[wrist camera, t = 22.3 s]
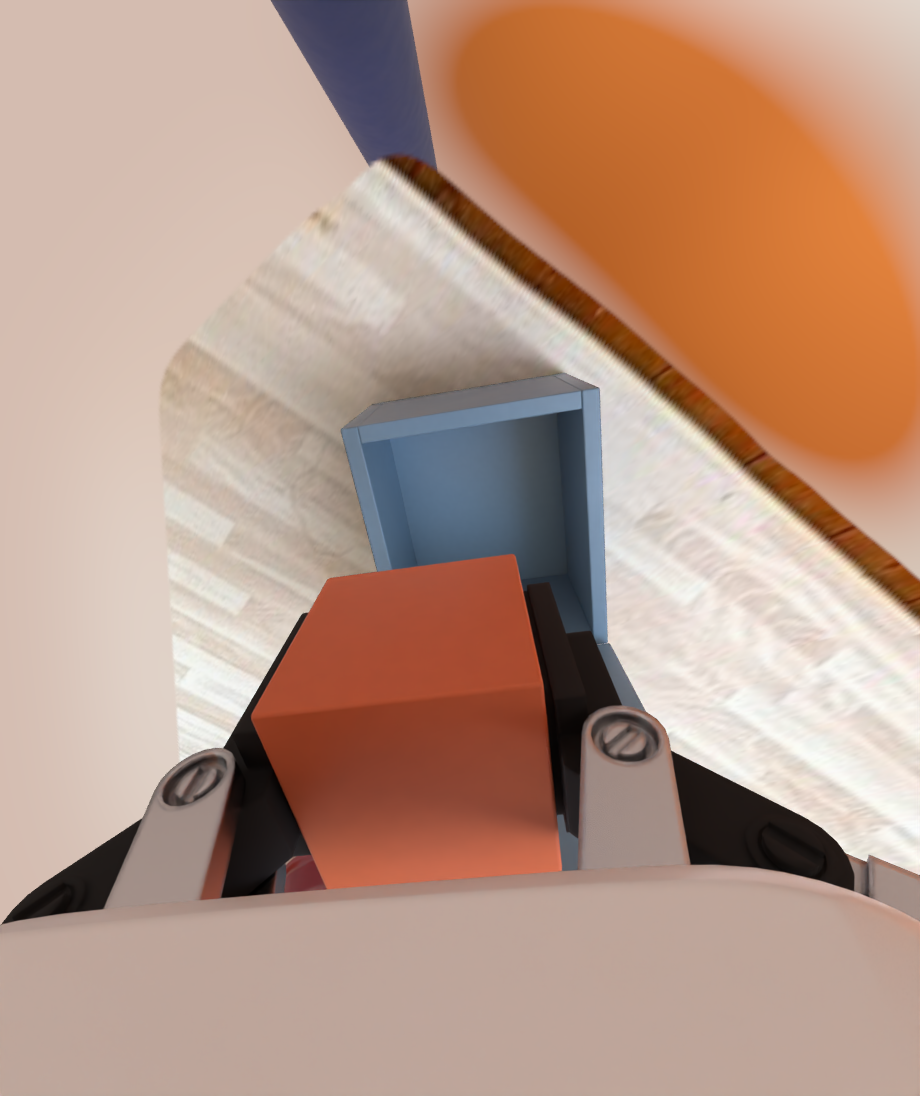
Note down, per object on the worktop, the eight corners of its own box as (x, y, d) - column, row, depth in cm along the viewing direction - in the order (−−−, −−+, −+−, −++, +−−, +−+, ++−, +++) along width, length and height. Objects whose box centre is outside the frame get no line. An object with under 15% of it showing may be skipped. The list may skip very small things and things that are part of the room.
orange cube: (370, 718, 13) (326, 894, 9) (326, 577, 11) (247, 716, 7) (532, 700, 13) (563, 874, 9) (515, 552, 11) (544, 684, 7)
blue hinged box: (371, 404, 28) (339, 429, 21) (565, 372, 27) (600, 387, 20) (415, 597, 34) (402, 668, 27) (577, 576, 33) (608, 643, 26)
